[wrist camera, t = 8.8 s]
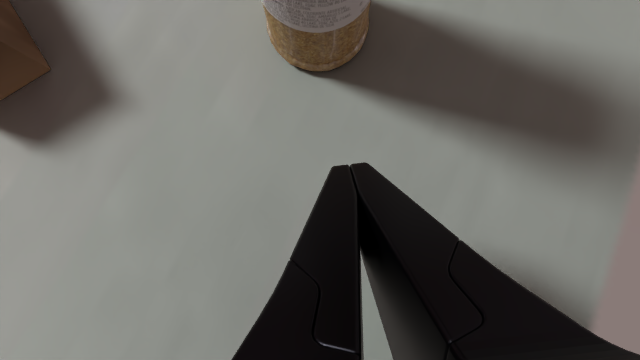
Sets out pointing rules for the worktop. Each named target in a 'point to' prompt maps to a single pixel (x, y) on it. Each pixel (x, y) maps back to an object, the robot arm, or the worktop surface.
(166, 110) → the worktop surface
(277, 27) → the sprinkles bottle
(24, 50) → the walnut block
